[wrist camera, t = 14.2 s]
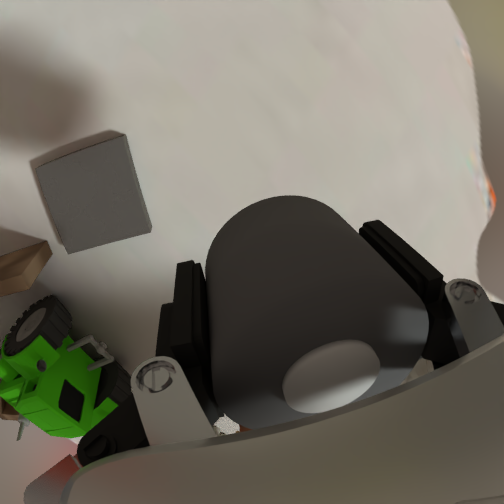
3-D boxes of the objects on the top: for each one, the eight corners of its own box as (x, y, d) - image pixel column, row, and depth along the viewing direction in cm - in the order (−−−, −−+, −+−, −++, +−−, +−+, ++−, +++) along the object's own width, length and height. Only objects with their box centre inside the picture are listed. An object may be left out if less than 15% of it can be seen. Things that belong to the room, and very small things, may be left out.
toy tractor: (-14, 333, 24) (-47, 400, 16) (75, 276, 23) (35, 365, 15) (49, 393, 30) (32, 460, 21) (147, 357, 29) (141, 445, 20)
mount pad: (125, 134, 19) (122, 136, 18) (152, 226, 22) (150, 232, 21) (41, 165, 18) (35, 168, 17) (71, 248, 22) (67, 254, 21)
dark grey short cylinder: (352, 182, 10) (454, 256, 6) (353, 309, 13) (411, 405, 8) (187, 215, 10) (179, 327, 5) (224, 341, 13) (240, 456, 8)
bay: (46, 240, 21) (21, 274, 17) (126, 381, 30) (122, 419, 25) (-64, 281, 20) (-87, 308, 15) (12, 389, 29) (2, 419, 24)
